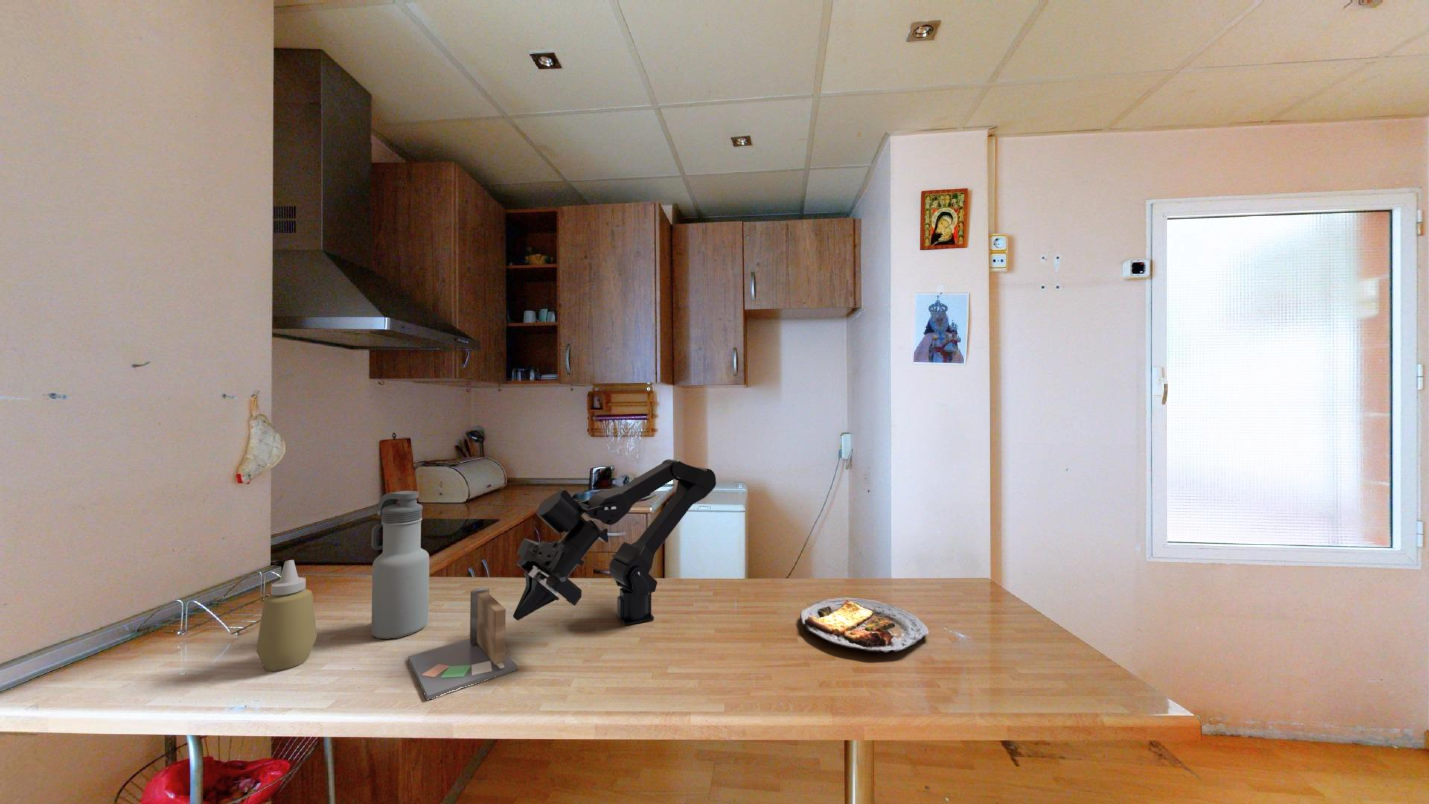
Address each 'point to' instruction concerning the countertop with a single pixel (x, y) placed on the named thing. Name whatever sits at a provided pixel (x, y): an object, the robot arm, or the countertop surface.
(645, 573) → the robot arm
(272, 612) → the squeeze bottle
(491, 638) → the upright wooden block
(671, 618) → the countertop surface
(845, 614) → the food plate
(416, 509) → the water bottle
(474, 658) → the grey flat board
